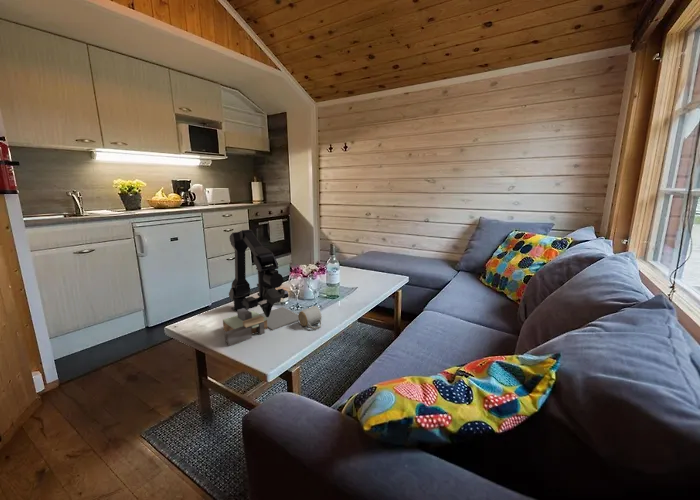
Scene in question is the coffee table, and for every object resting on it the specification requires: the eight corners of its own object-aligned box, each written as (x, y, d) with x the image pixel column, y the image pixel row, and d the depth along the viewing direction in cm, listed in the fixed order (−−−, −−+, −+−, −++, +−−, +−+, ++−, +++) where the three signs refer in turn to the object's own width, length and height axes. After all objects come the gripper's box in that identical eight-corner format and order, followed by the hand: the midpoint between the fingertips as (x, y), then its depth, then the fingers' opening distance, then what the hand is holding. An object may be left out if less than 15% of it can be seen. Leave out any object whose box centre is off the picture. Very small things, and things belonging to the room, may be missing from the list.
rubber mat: (251, 318, 148) (251, 316, 148) (282, 308, 160) (282, 307, 160) (272, 330, 136) (272, 329, 136) (304, 318, 148) (304, 317, 148)
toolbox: (213, 333, 133) (212, 322, 132) (253, 320, 146) (253, 310, 145) (229, 346, 123) (228, 334, 122) (271, 330, 136) (270, 320, 135)
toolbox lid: (222, 321, 135) (222, 311, 135) (253, 312, 145) (252, 303, 144) (239, 332, 125) (238, 322, 124) (270, 322, 135) (270, 312, 134)
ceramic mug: (297, 324, 142) (296, 308, 141) (312, 319, 147) (312, 303, 146) (310, 332, 134) (310, 315, 133) (326, 327, 140) (326, 310, 138)
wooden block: (243, 325, 129) (242, 321, 128) (260, 319, 134) (260, 315, 134) (246, 327, 127) (245, 323, 127) (263, 321, 133) (263, 317, 132)
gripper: (254, 291, 120) (257, 330, 123) (295, 281, 133) (296, 316, 136) (240, 285, 127) (243, 321, 131) (280, 275, 140) (282, 308, 144)
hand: (267, 317), depth 135 cm, fingers closed
